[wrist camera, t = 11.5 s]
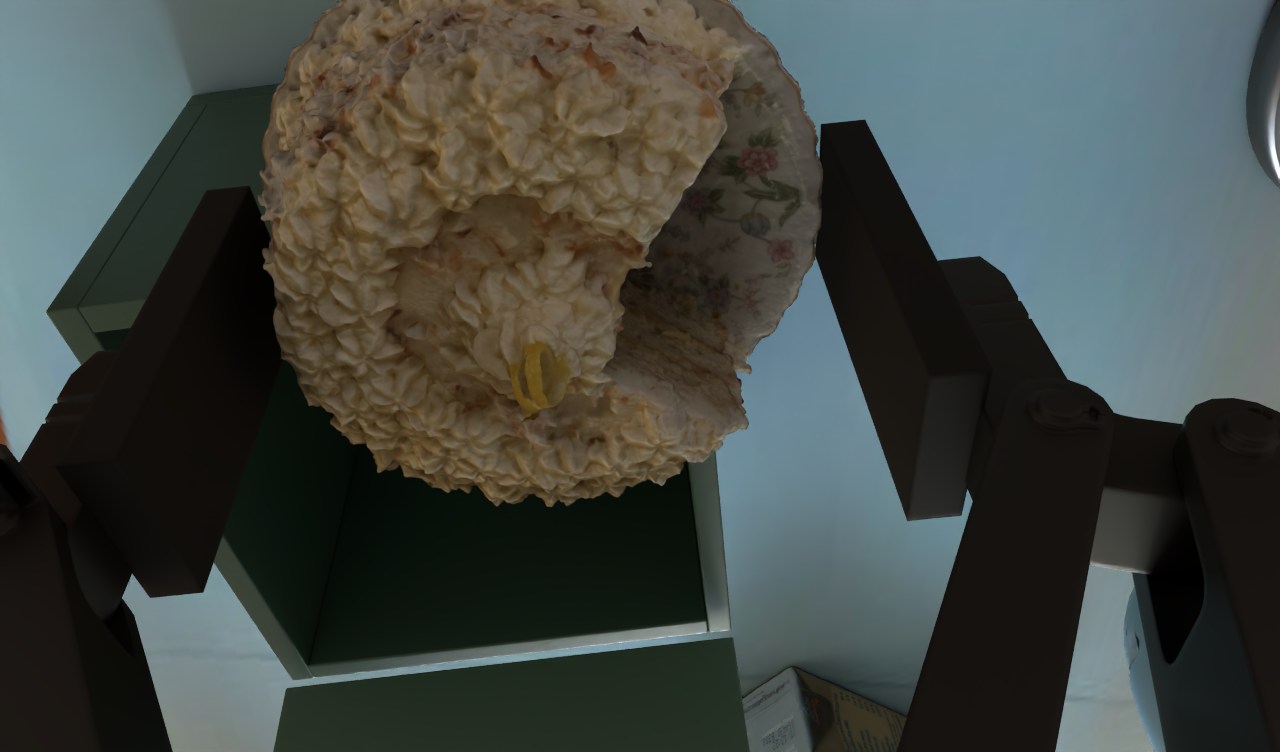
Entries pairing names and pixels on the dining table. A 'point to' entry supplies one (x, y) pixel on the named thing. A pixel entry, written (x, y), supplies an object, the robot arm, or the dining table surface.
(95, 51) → the dining table surface
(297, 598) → the bin
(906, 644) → the dining table surface
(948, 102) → the dining table surface
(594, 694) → the bin lid
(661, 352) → the cake
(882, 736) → the beverage carton
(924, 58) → the dining table surface
